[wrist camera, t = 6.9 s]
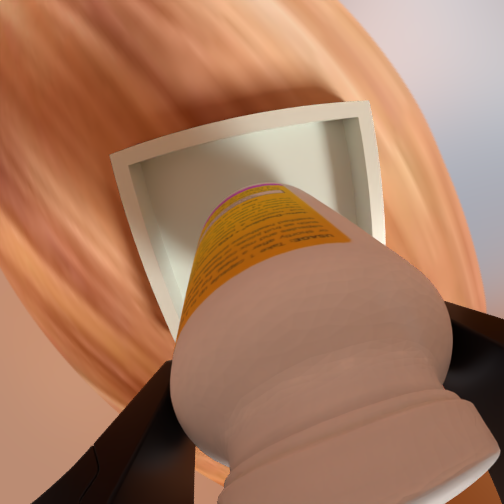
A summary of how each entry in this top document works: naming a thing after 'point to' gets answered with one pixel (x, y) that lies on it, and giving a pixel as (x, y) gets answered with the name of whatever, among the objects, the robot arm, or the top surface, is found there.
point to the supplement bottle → (318, 362)
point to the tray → (243, 180)
